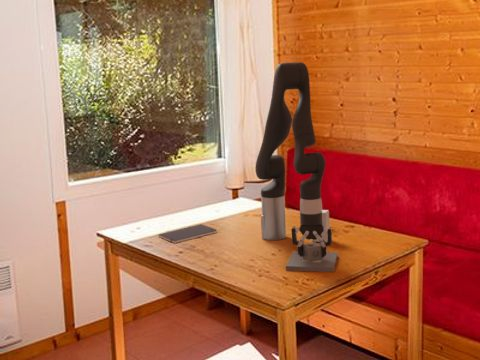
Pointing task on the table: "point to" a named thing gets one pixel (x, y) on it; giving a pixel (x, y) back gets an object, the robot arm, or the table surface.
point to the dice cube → (312, 252)
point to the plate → (312, 263)
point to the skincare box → (324, 224)
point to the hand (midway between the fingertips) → (312, 256)
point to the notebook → (187, 233)
